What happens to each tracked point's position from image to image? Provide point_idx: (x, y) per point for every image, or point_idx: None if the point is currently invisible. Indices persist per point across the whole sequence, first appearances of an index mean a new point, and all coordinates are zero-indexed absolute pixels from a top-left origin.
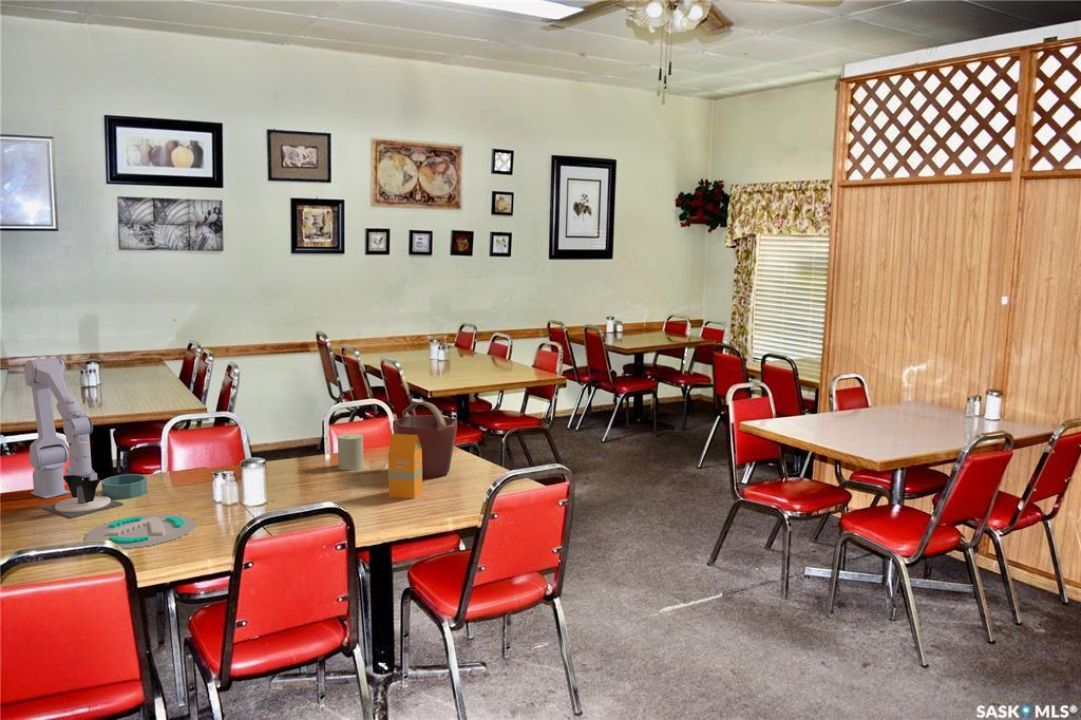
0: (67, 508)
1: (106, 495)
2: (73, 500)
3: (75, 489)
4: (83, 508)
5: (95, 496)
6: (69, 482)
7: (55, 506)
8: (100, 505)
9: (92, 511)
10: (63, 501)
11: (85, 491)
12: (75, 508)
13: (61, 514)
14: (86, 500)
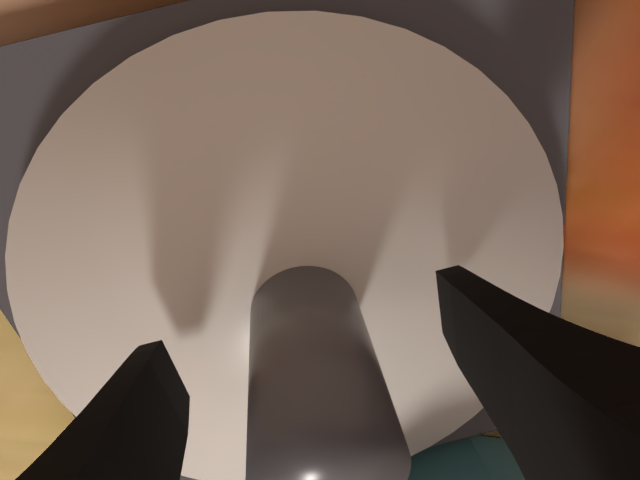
0: (155, 127)
1: (413, 473)
2: (460, 254)
3: (488, 361)
4: (44, 274)
5: (431, 418)
6: (570, 404)
7: (361, 20)
8: (79, 411)
9: (12, 320)
10: (509, 162)
11: (18, 477)
12: (99, 205)
13: (92, 24)
14: (126, 361)
